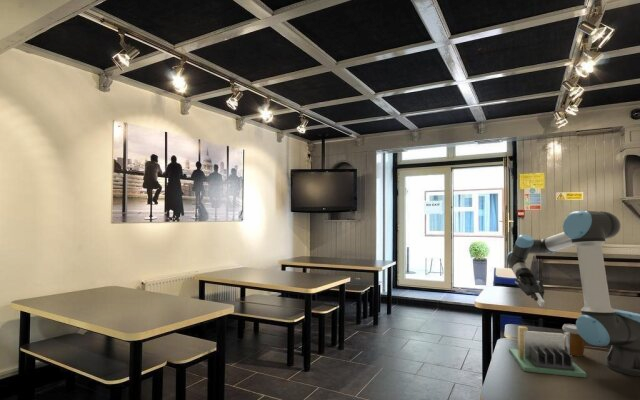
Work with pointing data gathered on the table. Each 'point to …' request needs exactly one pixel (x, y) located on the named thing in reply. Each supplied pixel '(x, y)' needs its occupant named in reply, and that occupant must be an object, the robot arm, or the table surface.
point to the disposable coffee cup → (574, 340)
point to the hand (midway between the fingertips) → (542, 304)
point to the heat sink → (547, 354)
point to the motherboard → (528, 366)
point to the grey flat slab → (542, 341)
